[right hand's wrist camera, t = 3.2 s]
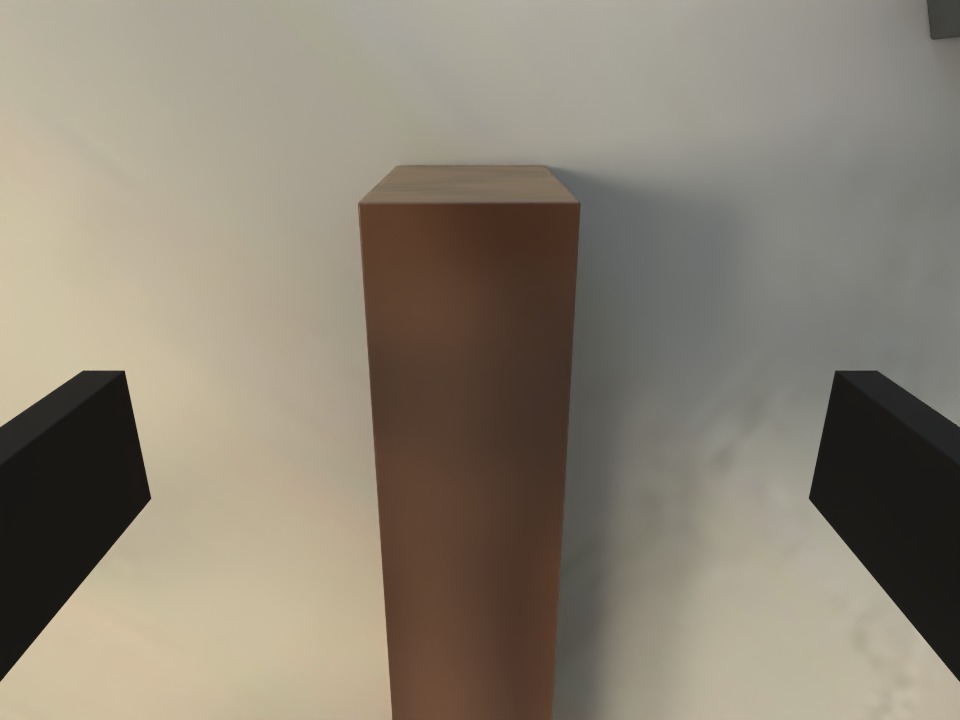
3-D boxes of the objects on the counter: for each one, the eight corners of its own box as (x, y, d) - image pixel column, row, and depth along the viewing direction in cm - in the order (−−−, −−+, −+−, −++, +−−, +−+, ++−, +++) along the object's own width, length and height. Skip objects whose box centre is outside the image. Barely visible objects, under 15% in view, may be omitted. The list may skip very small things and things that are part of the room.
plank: (422, 757, 33) (407, 952, 25) (396, 165, 22) (357, 202, 15) (524, 756, 33) (539, 950, 25) (545, 165, 22) (580, 202, 15)
